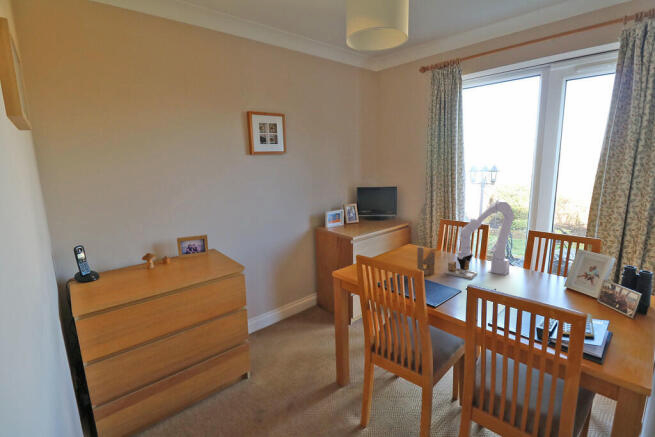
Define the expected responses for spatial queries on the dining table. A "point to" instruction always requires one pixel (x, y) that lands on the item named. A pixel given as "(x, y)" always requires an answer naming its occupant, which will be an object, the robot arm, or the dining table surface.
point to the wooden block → (425, 261)
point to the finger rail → (460, 271)
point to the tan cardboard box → (466, 265)
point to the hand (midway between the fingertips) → (464, 266)
